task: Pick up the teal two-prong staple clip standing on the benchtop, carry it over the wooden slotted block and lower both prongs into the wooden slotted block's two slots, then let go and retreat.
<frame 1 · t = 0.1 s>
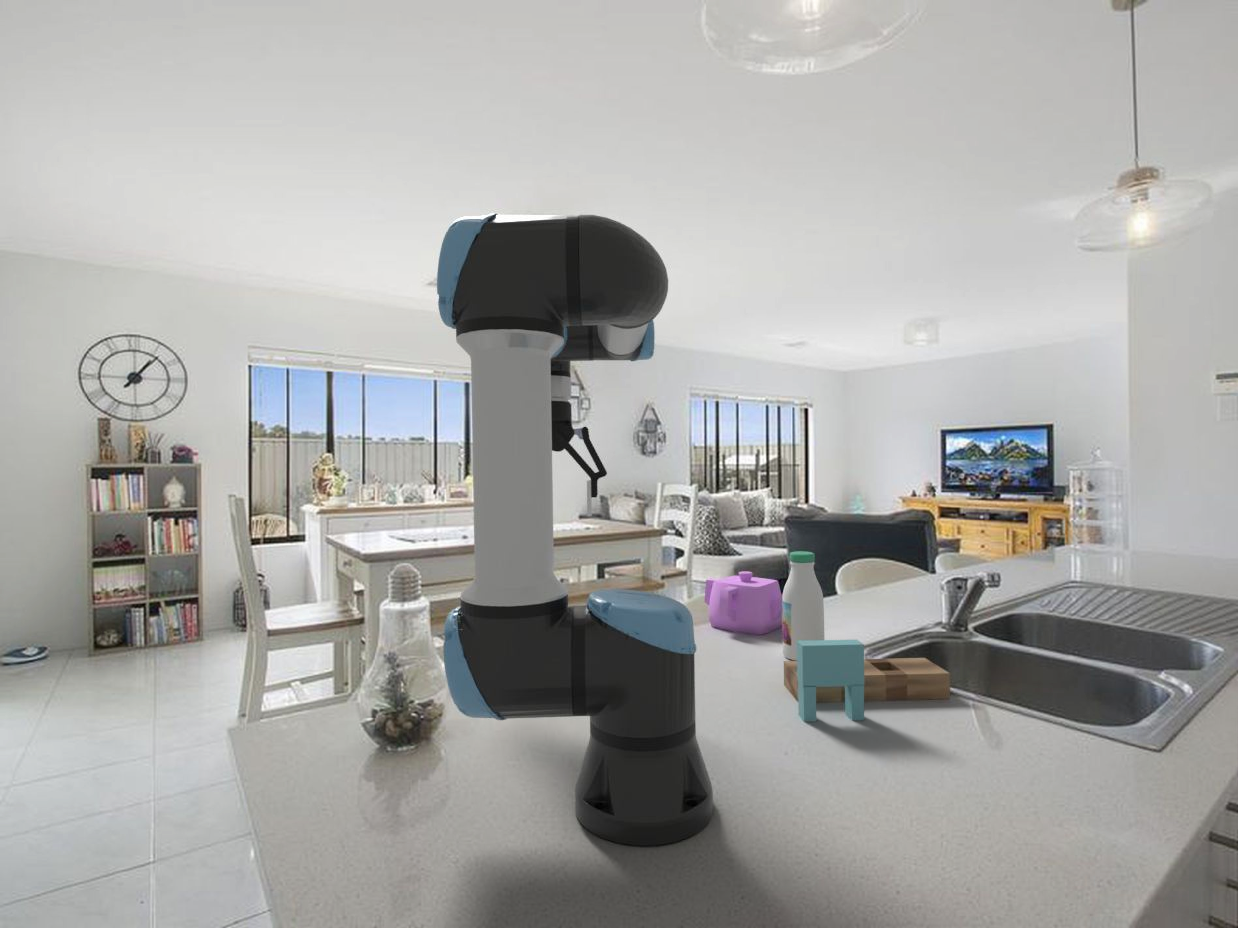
hand: (552, 516, 120), 28 cm above the worktop, fingers open, 13 cm apart
clip: (830, 717, 95), on the worktop
milk bottle: (803, 657, 125), on the worktop
wooden slotted block: (864, 691, 106), on the worktop
teakettle: (749, 626, 148), on the worktop
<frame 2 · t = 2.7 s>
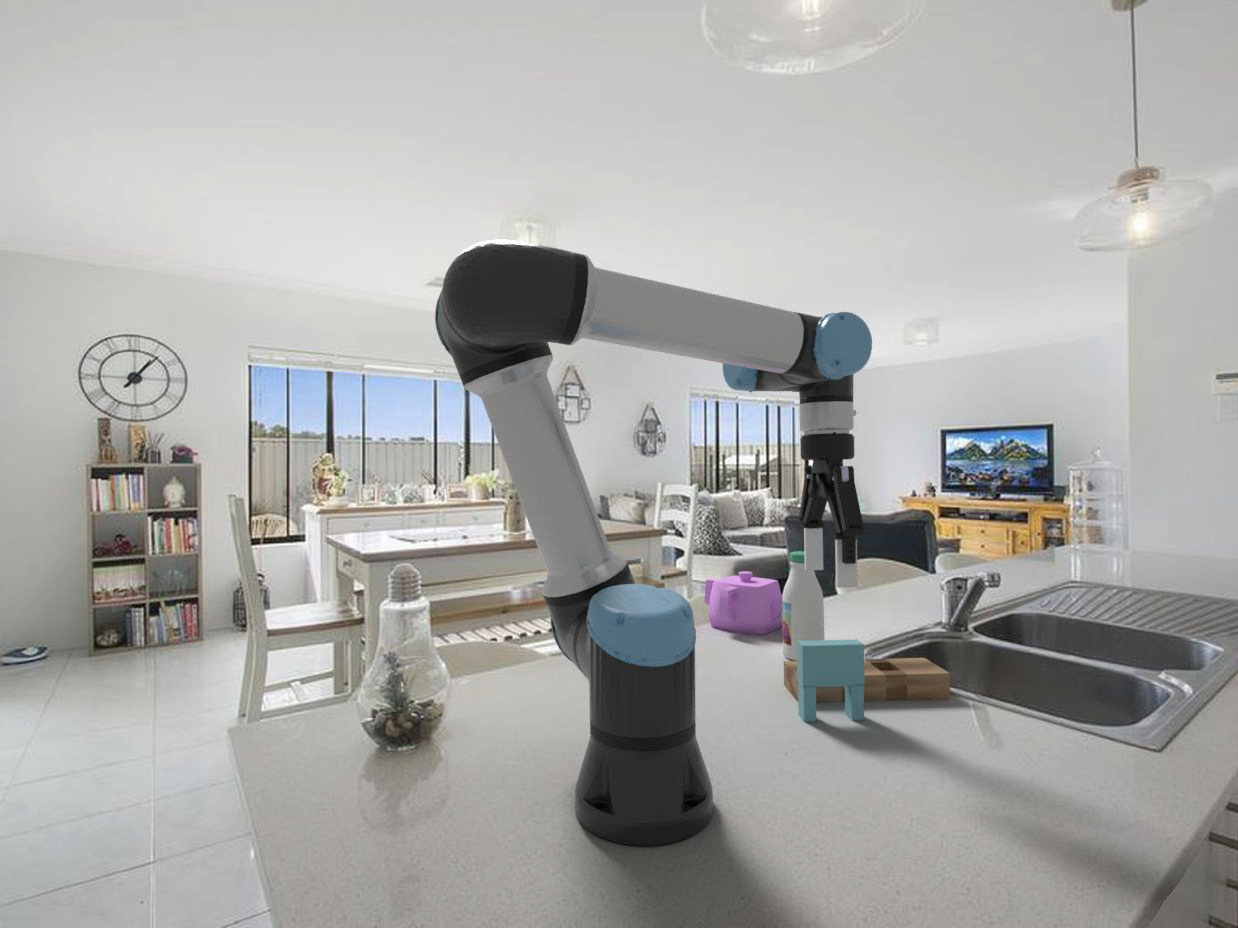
hand: (829, 577, 95), 20 cm above the worktop, fingers open, 13 cm apart
nothing on the worktop moved.
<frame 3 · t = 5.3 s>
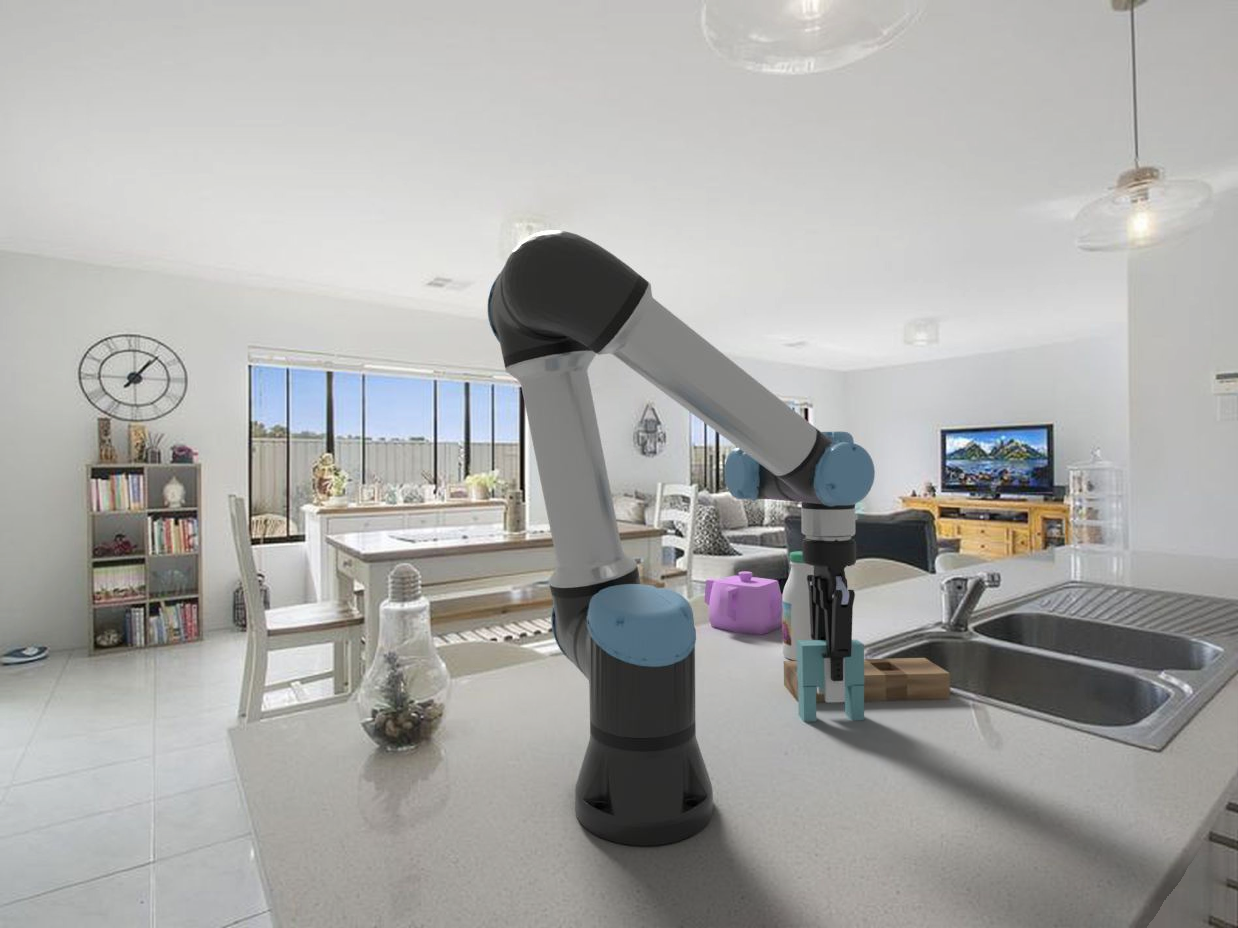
hand: (830, 696, 95), 3 cm above the worktop, fingers closed on clip, 3 cm apart
clip: (831, 717, 95), on the worktop, touching gripper
everything else where it was.
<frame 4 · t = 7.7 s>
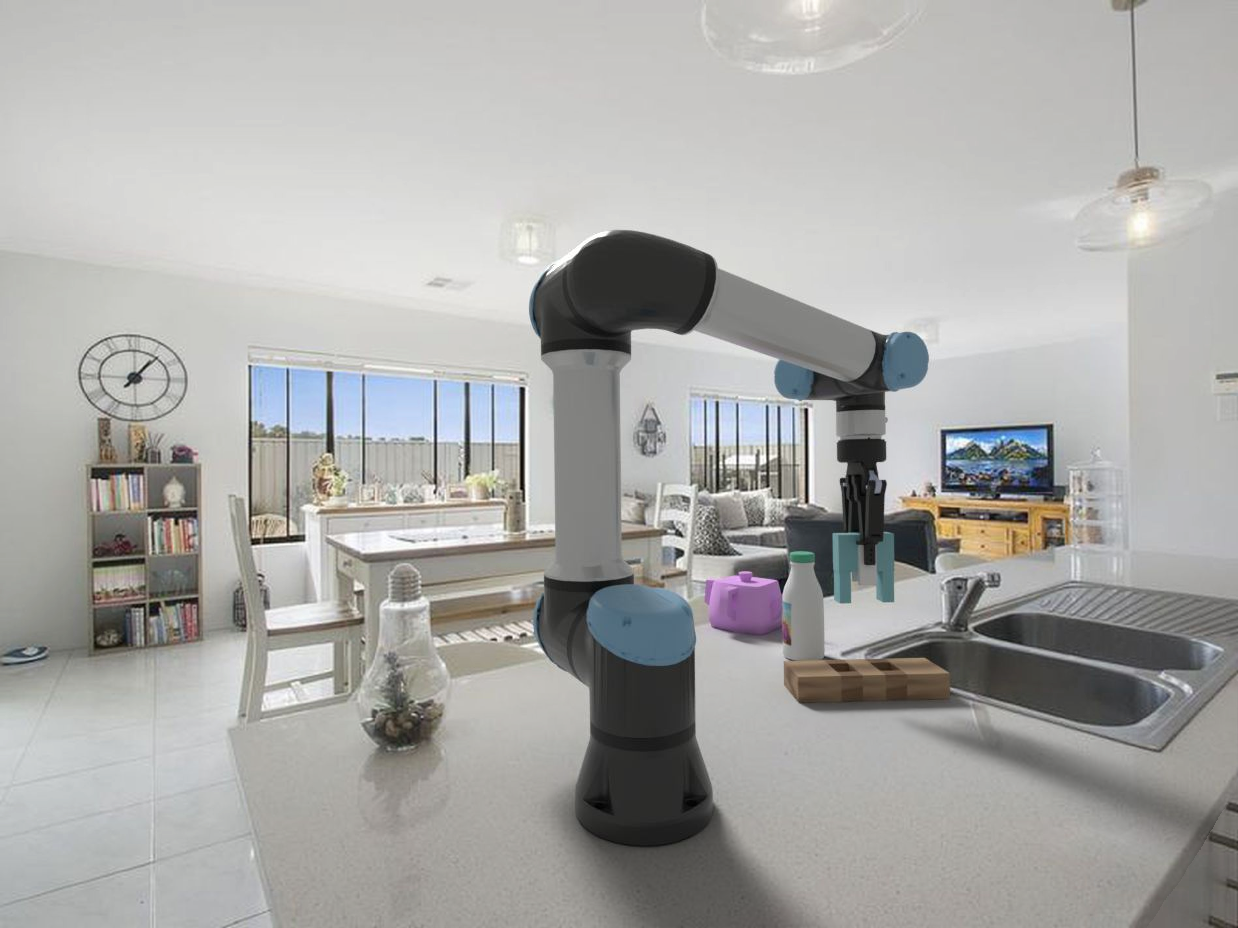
hand: (863, 582, 106), 18 cm above the worktop, fingers closed on clip, 3 cm apart
clip: (863, 601, 106), point 15 cm above the worktop, touching gripper
everything else where it was.
when the fingers open (4 cm above the worktop, at t = 10.0 s): clip drops 1 cm, resting in wooden slotted block.
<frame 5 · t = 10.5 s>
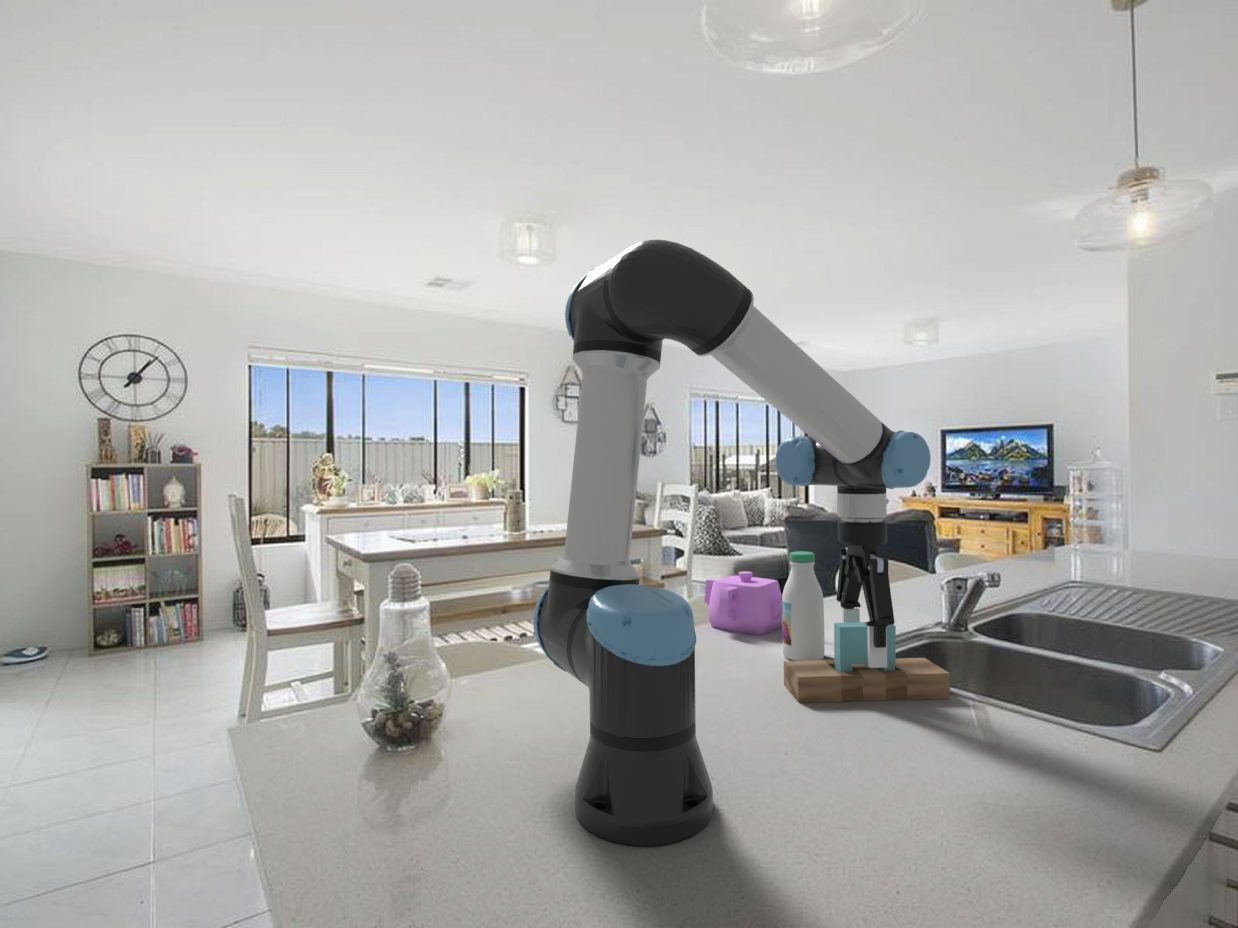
hand: (863, 656, 106), 6 cm above the worktop, fingers open, 10 cm apart
clip: (864, 691, 106), resting in wooden slotted block
everything else where it was.
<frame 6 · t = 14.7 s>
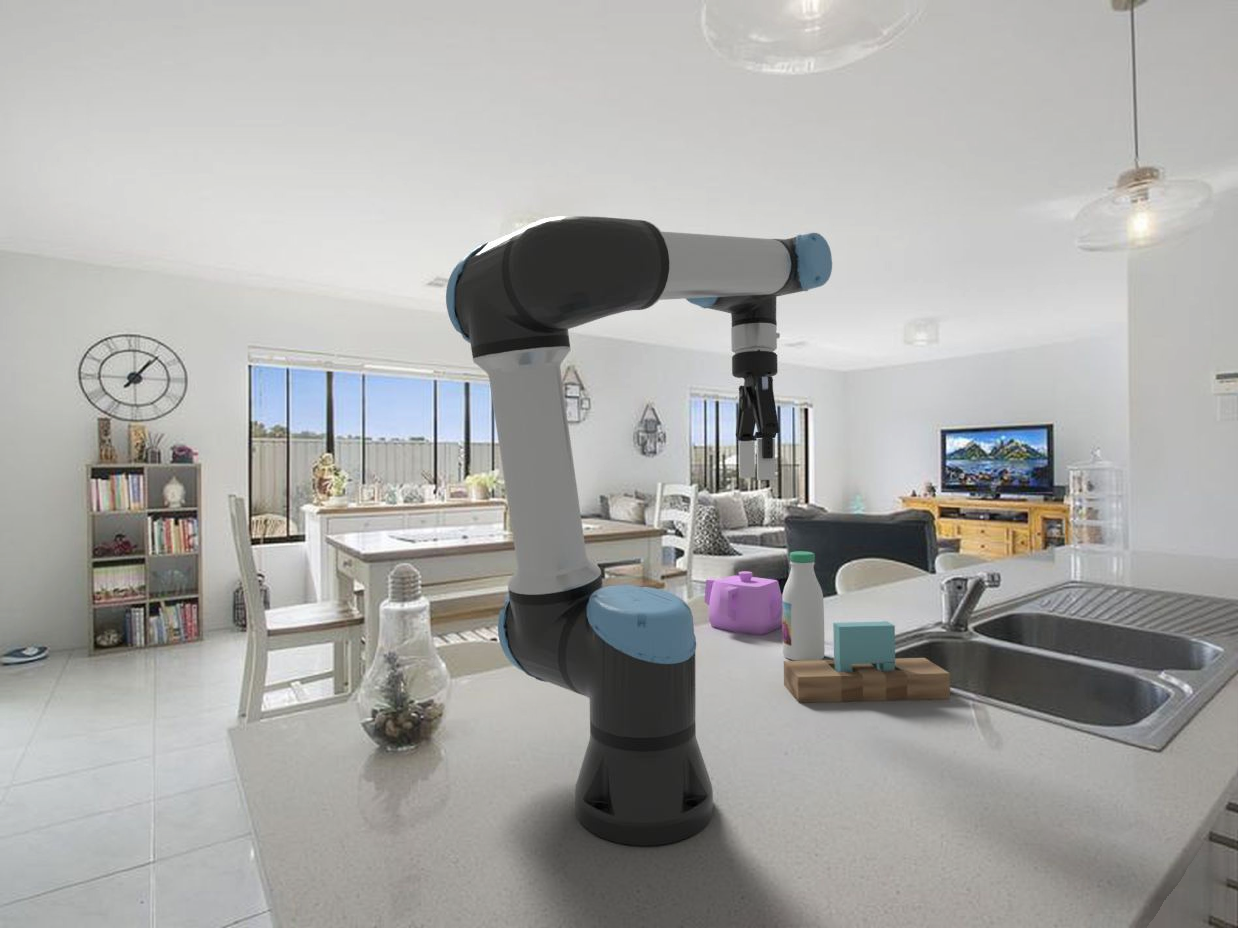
hand: (756, 478, 110), 35 cm above the worktop, fingers open, 13 cm apart
nothing on the worktop moved.
at the end: clip 0.1 cm off-centre on the wooden slotted block, point 0.0 cm above the wooden slotted block's base; clip tilted 0°; the gripper is holding nothing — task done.
